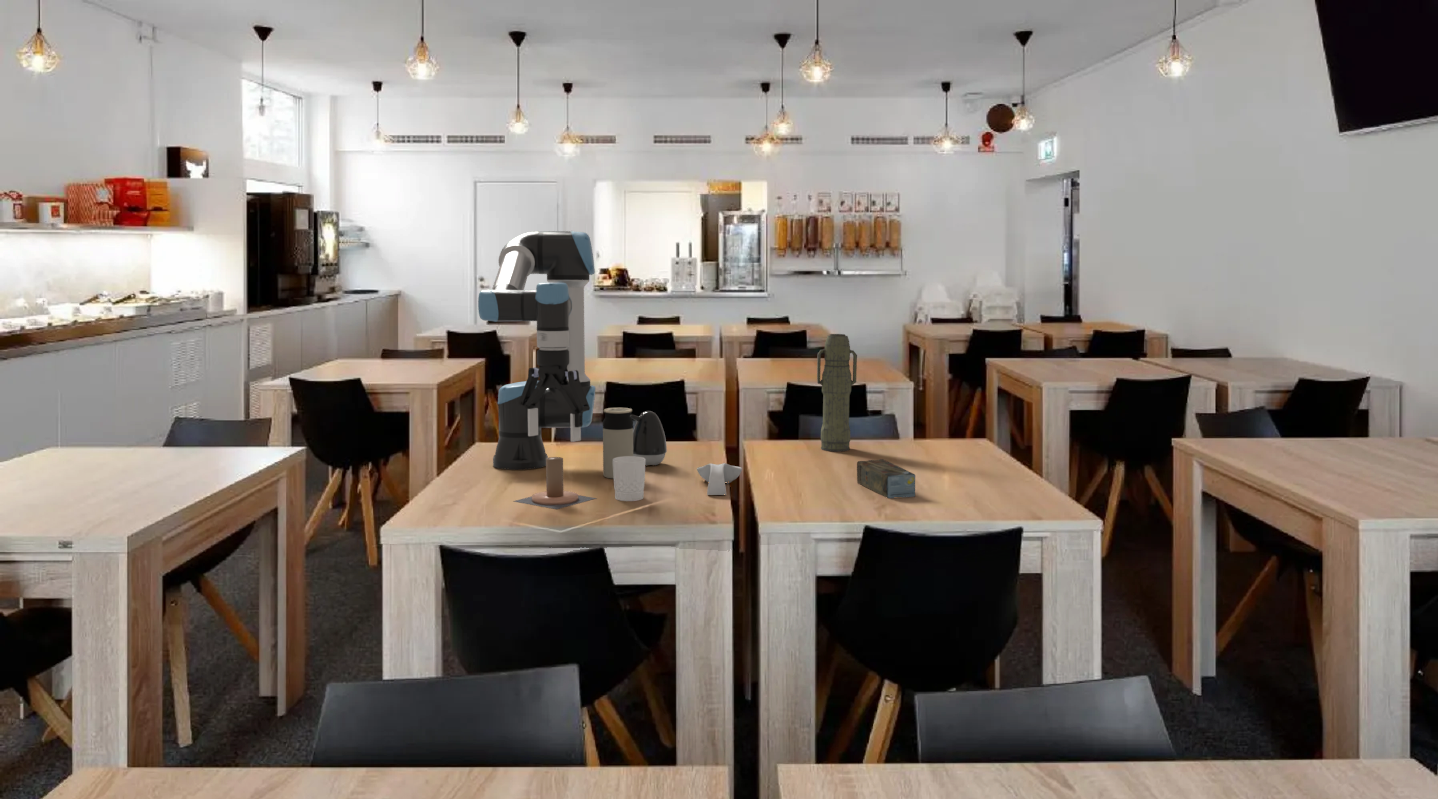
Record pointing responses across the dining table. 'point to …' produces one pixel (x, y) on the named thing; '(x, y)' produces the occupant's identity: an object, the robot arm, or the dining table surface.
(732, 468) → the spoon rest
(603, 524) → the dining table surface
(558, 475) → the lid
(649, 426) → the pump dispenser
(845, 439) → the thermos
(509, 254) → the robot arm
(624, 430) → the travel mug
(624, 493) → the white cup
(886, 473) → the beverage carton
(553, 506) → the mat
